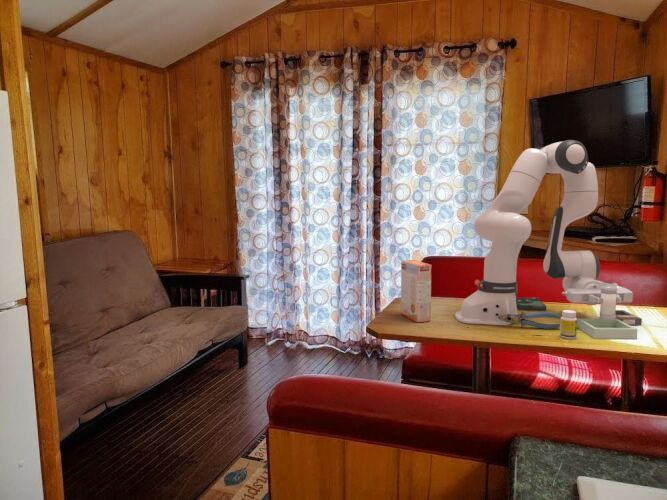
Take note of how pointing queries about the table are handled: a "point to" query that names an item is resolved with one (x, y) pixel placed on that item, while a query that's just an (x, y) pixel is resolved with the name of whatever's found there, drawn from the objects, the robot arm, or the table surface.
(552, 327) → the pliers
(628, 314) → the dark grey tray
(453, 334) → the table surface
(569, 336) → the supplement bottle
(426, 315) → the cracker box
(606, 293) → the fuse
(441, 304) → the table surface
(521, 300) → the disk drive
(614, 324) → the tray
